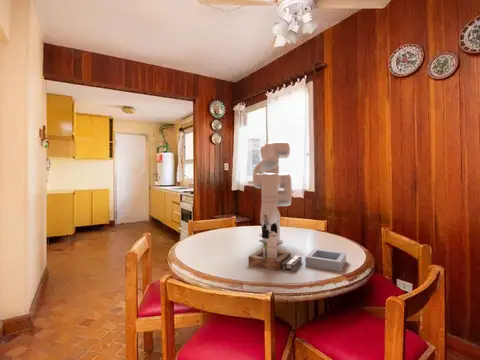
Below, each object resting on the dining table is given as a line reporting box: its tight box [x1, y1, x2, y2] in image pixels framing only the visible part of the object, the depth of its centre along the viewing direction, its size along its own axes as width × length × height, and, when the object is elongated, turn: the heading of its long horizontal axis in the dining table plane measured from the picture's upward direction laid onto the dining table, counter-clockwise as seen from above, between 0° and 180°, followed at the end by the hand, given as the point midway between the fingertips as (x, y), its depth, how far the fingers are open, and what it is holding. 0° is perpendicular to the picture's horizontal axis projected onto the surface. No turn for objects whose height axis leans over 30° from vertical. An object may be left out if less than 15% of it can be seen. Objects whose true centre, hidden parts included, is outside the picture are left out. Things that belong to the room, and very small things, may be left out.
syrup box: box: [262, 231, 278, 259], centre depth 122 cm, size 6×6×14 cm
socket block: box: [247, 248, 302, 273], centre depth 120 cm, size 21×15×4 cm
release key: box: [287, 254, 303, 270], centre depth 118 cm, size 3×13×3 cm, turn 149°
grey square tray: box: [305, 248, 347, 272], centre depth 120 cm, size 15×15×4 cm
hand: (269, 236), depth 121 cm, fingers open, 9 cm apart
